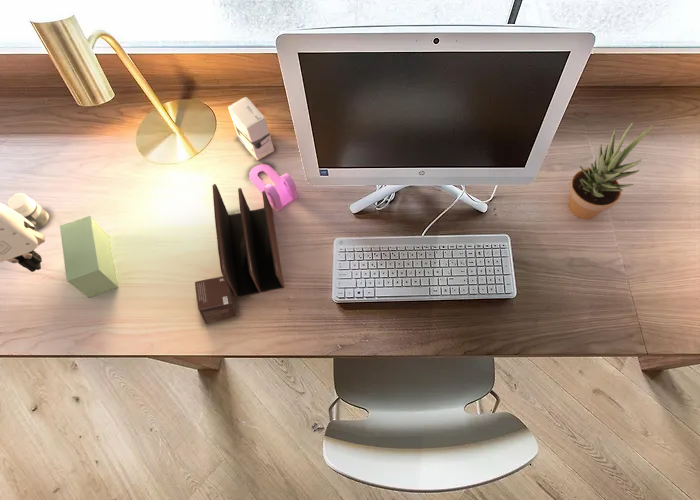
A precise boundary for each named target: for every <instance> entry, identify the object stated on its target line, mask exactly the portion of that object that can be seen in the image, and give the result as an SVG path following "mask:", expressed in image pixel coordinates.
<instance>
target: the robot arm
mask: <svg viewBox="0 0 700 500" xmlns="http://www.w3.org/2000/svg"><path fill="white" fill-rule="evenodd" d="M36 230H37V229H36V227H35V226H34V225H33V224H32V223H31V222H30V221H28V220H27V219H26V218H24V217H23V216H22V215H20V214H19V213H17V212H16V211H14V210H13V209H11V208H9V207H8V205H7V204H6V205H5V204H4V203H2V202H0V263H2V262H6V261H7V262H9V263H11V264H18V265H20V266H21V267H23V268H25V269H26V270H28V271H29V272H30V273H33V272H36V271H40V270H42V264H41V263H42V262H43V259H42V255H40V254H39V253H38V252H36V251H35V250H36V249H37V248H38V247H39V246H40V245H42V244H44V243H45V242H46V238H45V235H44V234H43V233H41V232H39V231H36Z"/></svg>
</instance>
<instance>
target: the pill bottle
mask: <svg viewBox="0 0 700 500" xmlns="http://www.w3.org/2000/svg"><path fill="white" fill-rule="evenodd" d="M6 206H7V207H9V208H11V209H13V210H14V211H16V212H17V213H19V214H20V215H22V216H23V217H24V218H26V219H27V220H28V221H30V222H31V223H32V224H33V225H34V226H35V227H36V230H38V229H41V228H43V227H44V226H45V225H46V224H47V223H48V221H49V218H50V217H49V216H50V215H49V213H48V212H47V211H46V210H45V209H43V207H42V206H41V205H40V204H38V203H37V202H36V200H34V199H33V198H30V197H29V196H28V195H26V193H23V192H18V193H14V194H13V195H11V196H10V197H9V199H8V200H7V204H6Z"/></svg>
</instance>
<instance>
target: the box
mask: <svg viewBox="0 0 700 500" xmlns="http://www.w3.org/2000/svg"><path fill="white" fill-rule="evenodd" d="M194 287H195V288H194V289H195V296H196V304H197V310H198V312H199V314H200V315H201V318H202V320H203V323H204V324H205V325H208V324H212V323H215V322H221V321H223V320H227V319H230V318H234V317H236V315H237V314H236V306H235V300H234V294H233V293H232V291H231V289H230V287H229V285H228V284H227V282H226V280H225V279H224V276H223V275H222V276H217V277H212V278H207V279H202V280H196V281H194Z"/></svg>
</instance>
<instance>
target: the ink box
mask: <svg viewBox="0 0 700 500" xmlns="http://www.w3.org/2000/svg"><path fill="white" fill-rule="evenodd" d="M227 108H228V111H229V114H230V117H231V120H232V123H233V125H234V129H235V131H236V134H237V138H238V140H239V141H240V142H241V144H242V145H243V146H244V147H245V149H247V150H248V152H249V153H250V154H251V155H252V157H254V159H255V160H257V161H259V160H261V159H263V158H264V157H266V156H268V155H270V154H271V153H273V152H275V148H274V144H273V141H272V137H271V134H270V130H269V127H268V122H267V119H266V118H265V116H264V115H263V113H262V112H261V111H260V110H259V109H258V108H257V106H256V105H254V103H253V102H252V101H251V100H250V99H249V98H248V97H247V96H244V97H242V98H240V99H238V100H237V101H234V102H233V103H231V104H229V105H228V106H227Z"/></svg>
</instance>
